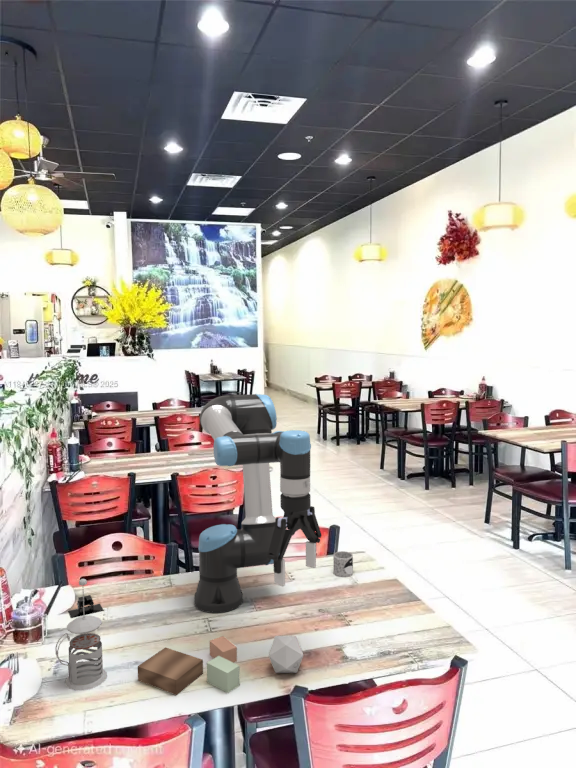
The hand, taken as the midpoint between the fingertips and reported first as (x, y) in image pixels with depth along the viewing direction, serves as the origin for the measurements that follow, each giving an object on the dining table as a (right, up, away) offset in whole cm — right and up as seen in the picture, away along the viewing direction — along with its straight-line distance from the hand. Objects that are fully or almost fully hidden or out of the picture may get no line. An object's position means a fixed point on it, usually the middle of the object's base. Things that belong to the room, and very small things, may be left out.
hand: (295, 575), depth 151 cm
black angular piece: (-63, -21, +30) cm, 73 cm away
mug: (+18, -18, +58) cm, 63 cm away
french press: (-52, -24, -6) cm, 57 cm away
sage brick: (-18, -23, -8) cm, 30 cm away
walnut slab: (-31, -24, -5) cm, 39 cm away
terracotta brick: (-19, -23, +3) cm, 29 cm away
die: (-3, -23, -2) cm, 23 cm away
